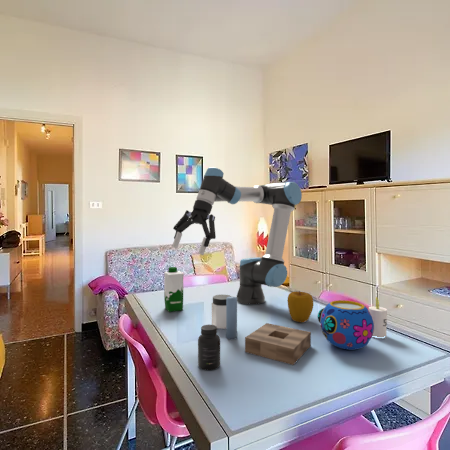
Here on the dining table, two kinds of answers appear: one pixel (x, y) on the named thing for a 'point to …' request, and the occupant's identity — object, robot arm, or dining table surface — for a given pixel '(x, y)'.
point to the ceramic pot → (346, 324)
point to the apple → (300, 306)
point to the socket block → (278, 343)
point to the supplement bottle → (209, 348)
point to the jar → (219, 311)
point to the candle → (379, 319)
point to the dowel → (231, 317)
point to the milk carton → (173, 289)
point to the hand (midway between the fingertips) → (187, 250)
